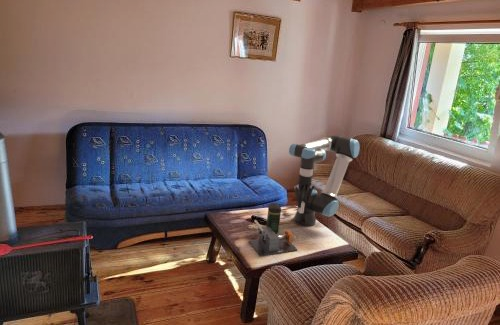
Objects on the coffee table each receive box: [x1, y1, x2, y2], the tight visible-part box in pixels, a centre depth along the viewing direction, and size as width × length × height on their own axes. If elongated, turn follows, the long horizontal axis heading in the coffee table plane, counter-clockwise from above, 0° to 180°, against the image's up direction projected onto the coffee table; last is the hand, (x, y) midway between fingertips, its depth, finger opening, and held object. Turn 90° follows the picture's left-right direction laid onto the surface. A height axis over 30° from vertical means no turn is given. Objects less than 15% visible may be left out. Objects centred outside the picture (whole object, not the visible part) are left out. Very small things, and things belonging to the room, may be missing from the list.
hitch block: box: [248, 226, 298, 258], centre depth 209 cm, size 24×17×12 cm
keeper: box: [254, 219, 265, 234], centre depth 203 cm, size 10×6×1 cm
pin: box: [277, 229, 294, 244], centre depth 210 cm, size 15×6×6 cm, turn 113°
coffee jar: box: [265, 202, 282, 235], centre depth 226 cm, size 10×8×19 cm
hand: (300, 212), depth 211 cm, fingers closed
